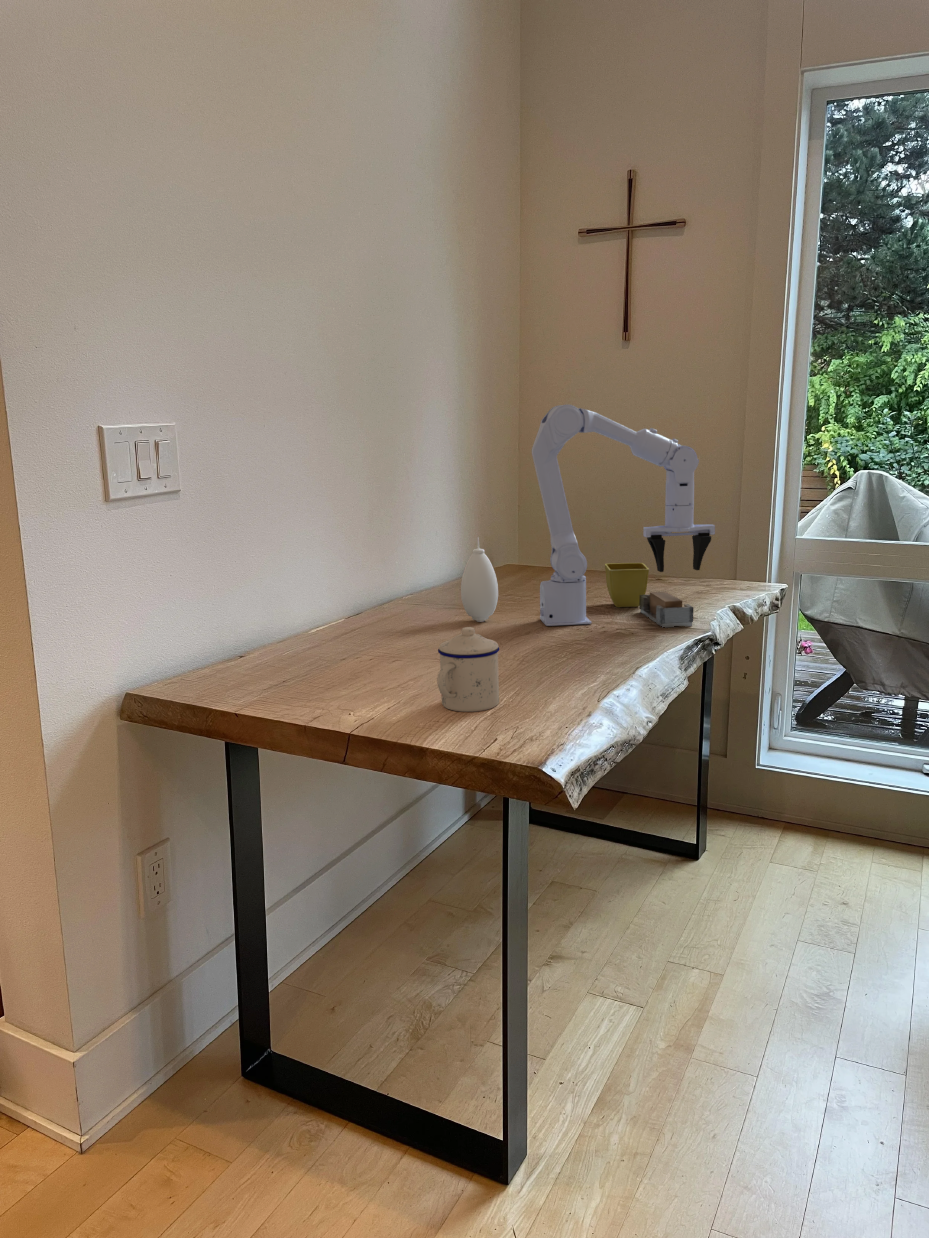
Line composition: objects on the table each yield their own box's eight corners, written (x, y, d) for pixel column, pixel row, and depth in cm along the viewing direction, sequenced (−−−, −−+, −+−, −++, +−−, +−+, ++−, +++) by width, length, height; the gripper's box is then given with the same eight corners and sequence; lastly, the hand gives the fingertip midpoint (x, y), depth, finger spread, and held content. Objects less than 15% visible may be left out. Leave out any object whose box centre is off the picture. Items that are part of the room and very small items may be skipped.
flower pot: (649, 608, 205) (649, 568, 204) (609, 609, 206) (609, 569, 204) (642, 601, 214) (642, 562, 212) (604, 602, 214) (604, 563, 212)
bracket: (661, 627, 186) (661, 609, 186) (639, 612, 202) (639, 594, 201) (693, 626, 187) (693, 607, 186) (668, 610, 203) (669, 593, 202)
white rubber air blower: (465, 626, 194) (463, 539, 190) (458, 618, 201) (456, 535, 197) (502, 623, 195) (500, 537, 191) (494, 616, 203) (492, 533, 199)
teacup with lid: (463, 692, 146) (460, 619, 144) (512, 700, 141) (510, 625, 139) (415, 712, 137) (412, 635, 134) (466, 722, 131) (464, 641, 129)
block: (665, 620, 189) (665, 601, 188) (649, 610, 199) (649, 592, 199) (682, 620, 189) (682, 600, 188) (665, 609, 200) (665, 591, 199)
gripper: (650, 507, 186) (649, 575, 189) (721, 505, 188) (719, 571, 190) (640, 504, 193) (640, 569, 196) (708, 502, 195) (707, 566, 197)
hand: (678, 570), depth 194 cm, fingers open, 7 cm apart
